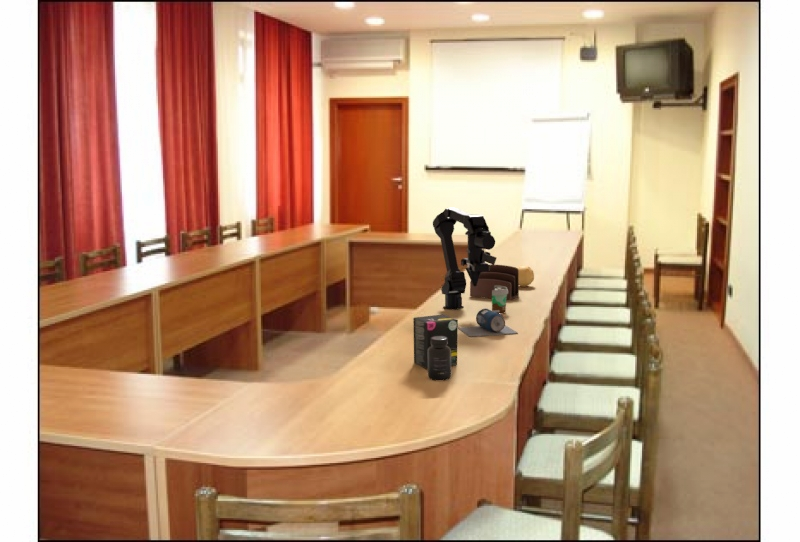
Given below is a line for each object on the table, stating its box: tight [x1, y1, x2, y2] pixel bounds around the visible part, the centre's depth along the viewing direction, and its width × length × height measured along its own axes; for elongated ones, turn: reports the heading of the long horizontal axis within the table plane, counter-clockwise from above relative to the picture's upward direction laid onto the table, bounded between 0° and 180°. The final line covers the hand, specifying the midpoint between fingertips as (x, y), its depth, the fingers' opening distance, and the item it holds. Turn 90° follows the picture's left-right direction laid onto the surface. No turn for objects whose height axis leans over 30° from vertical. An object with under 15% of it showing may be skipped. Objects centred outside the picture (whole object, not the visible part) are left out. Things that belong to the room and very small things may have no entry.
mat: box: [458, 324, 519, 338], centre depth 279 cm, size 14×18×1 cm
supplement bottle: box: [427, 336, 452, 381], centre depth 222 cm, size 7×7×12 cm
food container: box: [491, 285, 508, 314], centre depth 311 cm, size 12×6×10 cm, turn 168°
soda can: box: [475, 308, 506, 332], centre depth 279 cm, size 7×7×12 cm
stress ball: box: [517, 265, 535, 288], centre depth 368 cm, size 10×10×10 cm
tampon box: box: [412, 314, 459, 371], centre depth 236 cm, size 11×9×15 cm
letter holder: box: [469, 264, 520, 301], centre depth 345 cm, size 10×20×14 cm, turn 61°
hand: (474, 285), depth 304 cm, fingers closed
